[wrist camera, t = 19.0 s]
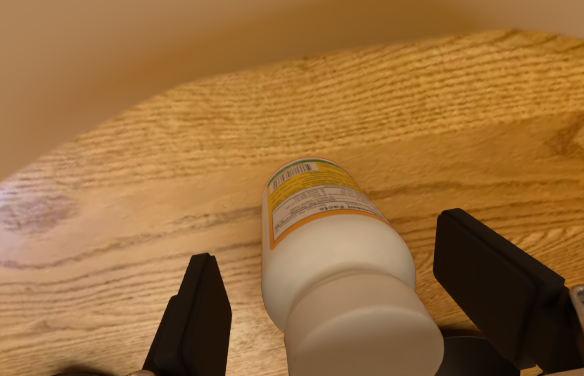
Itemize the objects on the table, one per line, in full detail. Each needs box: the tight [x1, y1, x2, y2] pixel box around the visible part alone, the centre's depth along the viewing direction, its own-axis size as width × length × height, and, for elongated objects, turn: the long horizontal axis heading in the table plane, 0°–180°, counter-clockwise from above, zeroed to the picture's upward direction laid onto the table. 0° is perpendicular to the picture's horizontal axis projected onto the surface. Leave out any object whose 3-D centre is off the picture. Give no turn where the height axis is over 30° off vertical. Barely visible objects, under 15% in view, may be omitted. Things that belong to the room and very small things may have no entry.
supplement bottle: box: [261, 157, 444, 376], centre depth 11 cm, size 5×5×10 cm
